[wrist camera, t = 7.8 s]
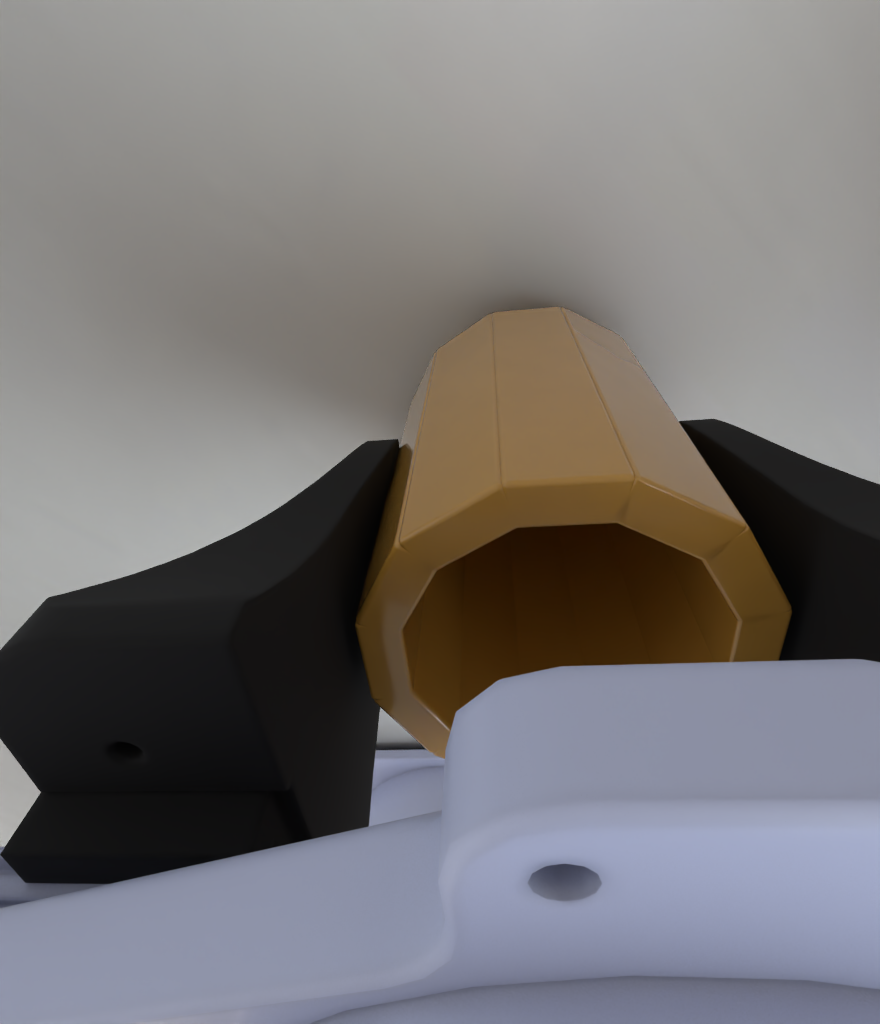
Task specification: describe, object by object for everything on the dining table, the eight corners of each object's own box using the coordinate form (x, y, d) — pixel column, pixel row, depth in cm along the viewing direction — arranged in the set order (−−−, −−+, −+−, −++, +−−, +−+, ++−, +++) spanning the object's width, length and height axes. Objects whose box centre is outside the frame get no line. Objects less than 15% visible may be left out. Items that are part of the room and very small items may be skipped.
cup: (638, 518, 15) (745, 783, 9) (426, 529, 15) (390, 785, 9) (659, 296, 12) (836, 464, 6) (398, 319, 12) (322, 494, 6)
